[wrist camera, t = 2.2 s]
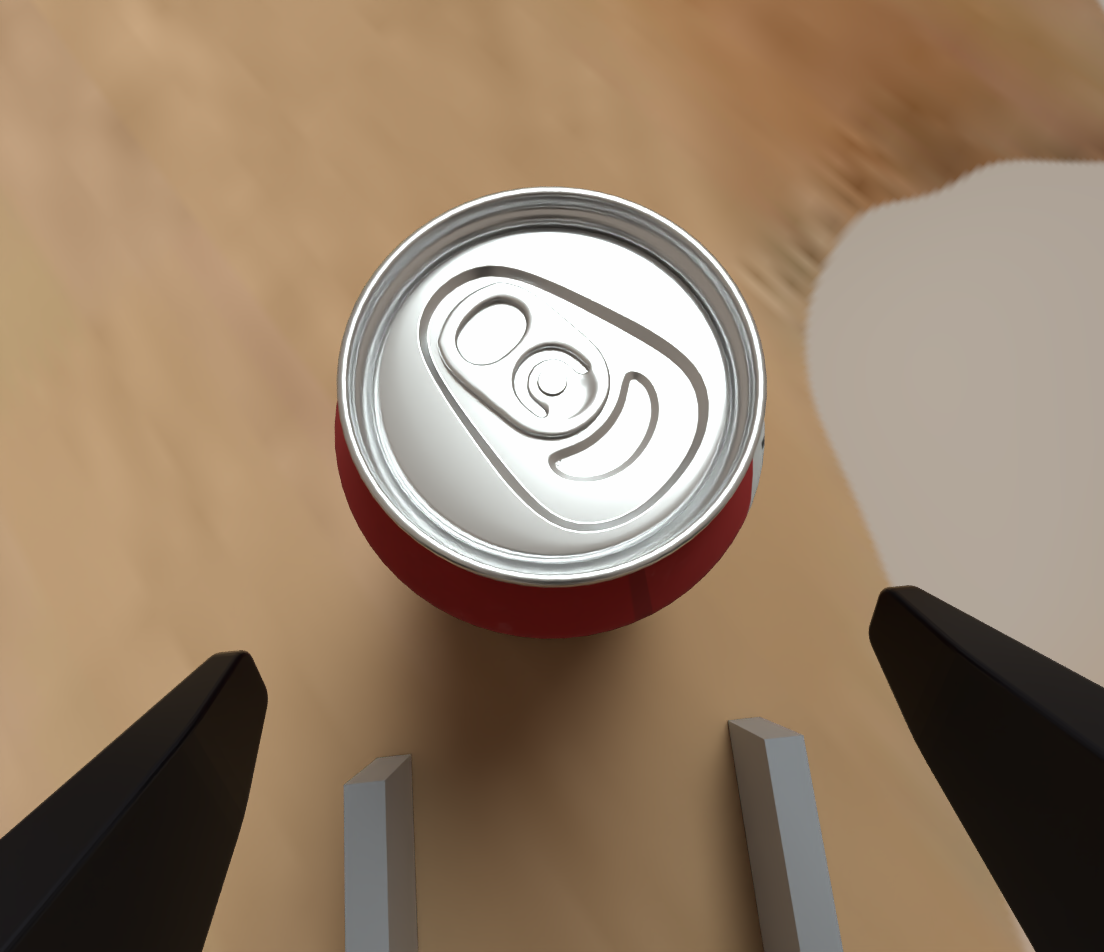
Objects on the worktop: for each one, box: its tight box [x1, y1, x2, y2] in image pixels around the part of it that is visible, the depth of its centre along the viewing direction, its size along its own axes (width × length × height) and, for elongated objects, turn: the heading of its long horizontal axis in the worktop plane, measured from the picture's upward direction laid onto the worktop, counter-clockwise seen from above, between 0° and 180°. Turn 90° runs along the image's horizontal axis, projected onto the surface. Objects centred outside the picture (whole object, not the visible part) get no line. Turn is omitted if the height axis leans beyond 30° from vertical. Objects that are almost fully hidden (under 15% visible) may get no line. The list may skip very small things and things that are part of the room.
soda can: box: [335, 186, 767, 639], centre depth 13 cm, size 7×7×12 cm
